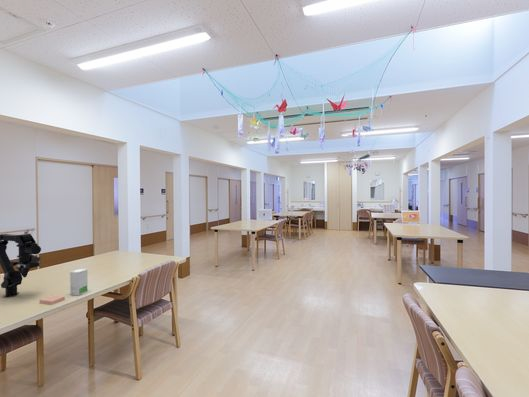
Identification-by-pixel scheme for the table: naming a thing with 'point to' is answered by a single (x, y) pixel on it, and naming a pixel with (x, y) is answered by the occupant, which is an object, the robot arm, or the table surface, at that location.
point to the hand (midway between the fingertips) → (24, 277)
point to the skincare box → (78, 282)
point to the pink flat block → (52, 299)
